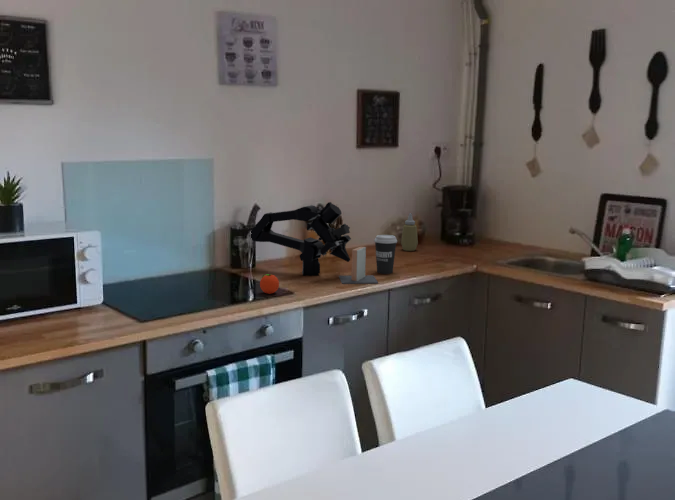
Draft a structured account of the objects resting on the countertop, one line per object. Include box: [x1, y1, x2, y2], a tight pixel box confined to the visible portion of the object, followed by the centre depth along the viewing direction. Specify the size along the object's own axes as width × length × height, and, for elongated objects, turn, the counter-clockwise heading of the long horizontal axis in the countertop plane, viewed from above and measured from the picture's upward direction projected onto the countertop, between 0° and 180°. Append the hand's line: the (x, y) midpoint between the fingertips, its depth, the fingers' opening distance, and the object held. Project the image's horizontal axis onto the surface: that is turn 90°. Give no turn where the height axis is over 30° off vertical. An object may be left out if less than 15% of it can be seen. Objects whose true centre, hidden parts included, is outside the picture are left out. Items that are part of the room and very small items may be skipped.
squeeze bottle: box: [400, 212, 419, 252], centre depth 337 cm, size 8×8×18 cm
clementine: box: [259, 273, 280, 295], centre depth 252 cm, size 8×7×7 cm
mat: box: [338, 274, 379, 285], centre depth 275 cm, size 14×12×1 cm
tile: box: [351, 246, 367, 281], centre depth 274 cm, size 2×8×12 cm, turn 156°
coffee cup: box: [373, 234, 398, 275], centre depth 288 cm, size 10×10×15 cm
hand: (349, 261), depth 276 cm, fingers closed
